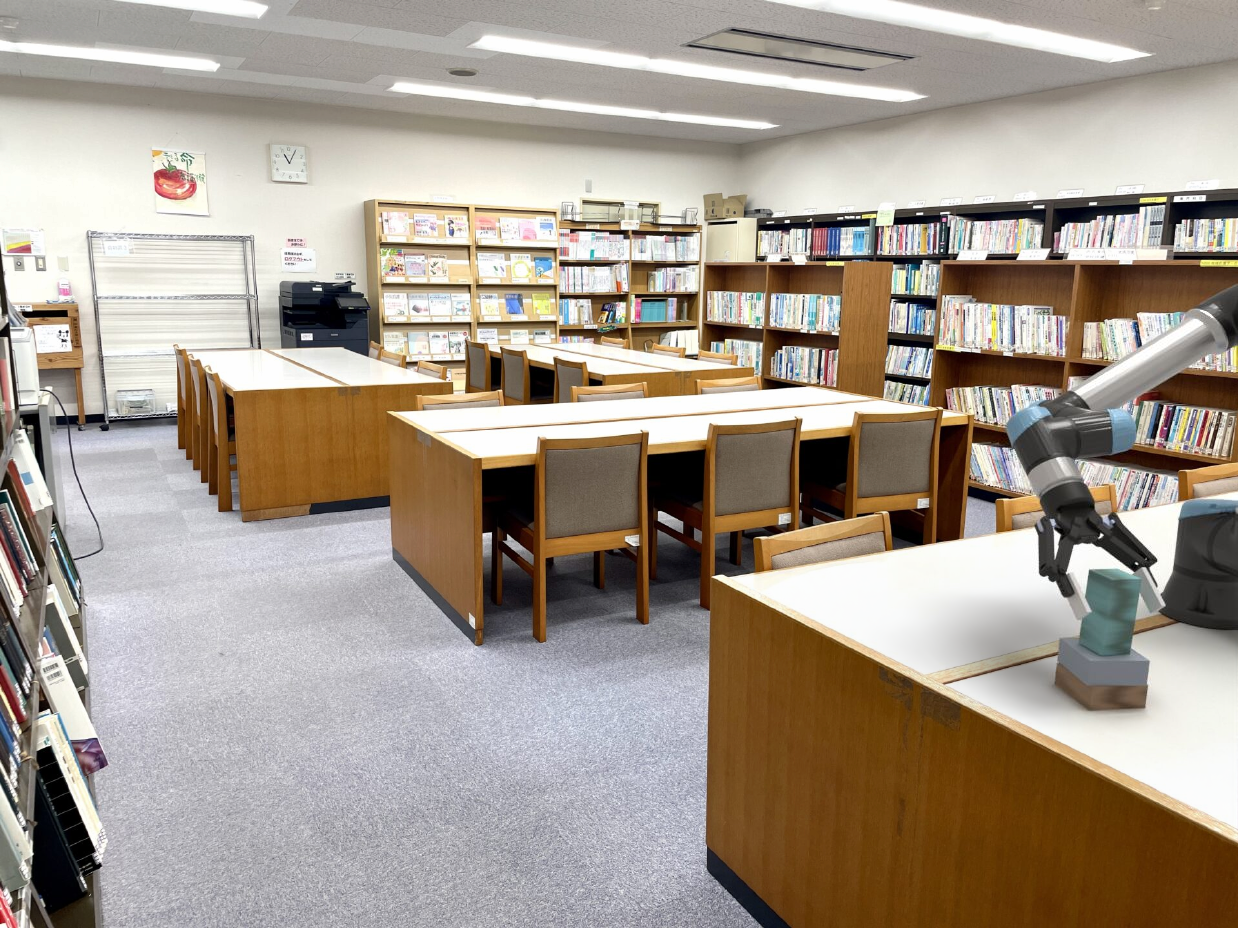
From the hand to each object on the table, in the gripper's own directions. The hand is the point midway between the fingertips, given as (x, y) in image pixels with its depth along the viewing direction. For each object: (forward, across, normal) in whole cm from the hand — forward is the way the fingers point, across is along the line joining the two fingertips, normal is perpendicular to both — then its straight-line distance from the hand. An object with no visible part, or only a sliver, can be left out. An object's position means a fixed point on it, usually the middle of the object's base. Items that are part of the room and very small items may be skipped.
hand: (1121, 612), depth 132 cm
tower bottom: (+9, 0, -12) cm, 15 cm away
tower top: (+6, 0, -10) cm, 11 cm away
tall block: (+3, 0, -7) cm, 7 cm away
